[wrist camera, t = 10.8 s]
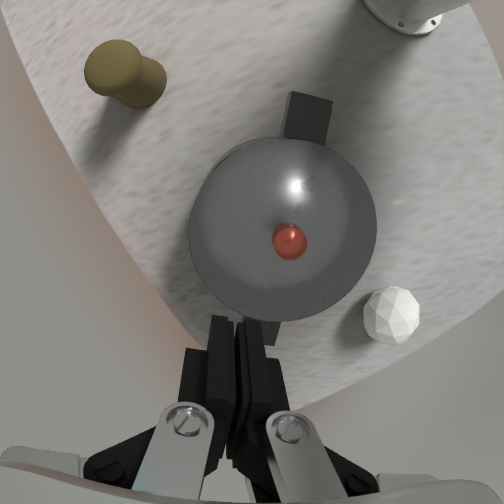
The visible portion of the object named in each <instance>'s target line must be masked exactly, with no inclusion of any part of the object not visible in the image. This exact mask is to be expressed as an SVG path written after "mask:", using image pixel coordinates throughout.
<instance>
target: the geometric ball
mask: <svg viewBox="0 0 504 504" xmlns="http://www.w3.org/2000/svg"><path fill="white" fill-rule="evenodd" d="M363 308H364V327H365V329H366V331H367V333H368V335H369V336H371V337H372V338H373V339H375V340H376V341H378V342H380V343H381V344H390V345H393V344H399V343H401V342H403V341H405V340H407V339H408V338H409V337H410V336H411V334H412V333H413V331H414V330H415V329H416V327H417V326H418V325H419V304H418V303H417V301H416V300H415V299H414V297H413V296H412V295H411V293H410V292H409V291H408V290H405V289H402V288H398V287H395V286H392V285H390V286H388V287H385V288H383V289H380V290H377V291H375V292H373V294H372V295H371V297H370V298H369V300H368V301H367V303H366V304H365V306H364V307H363Z"/></svg>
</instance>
